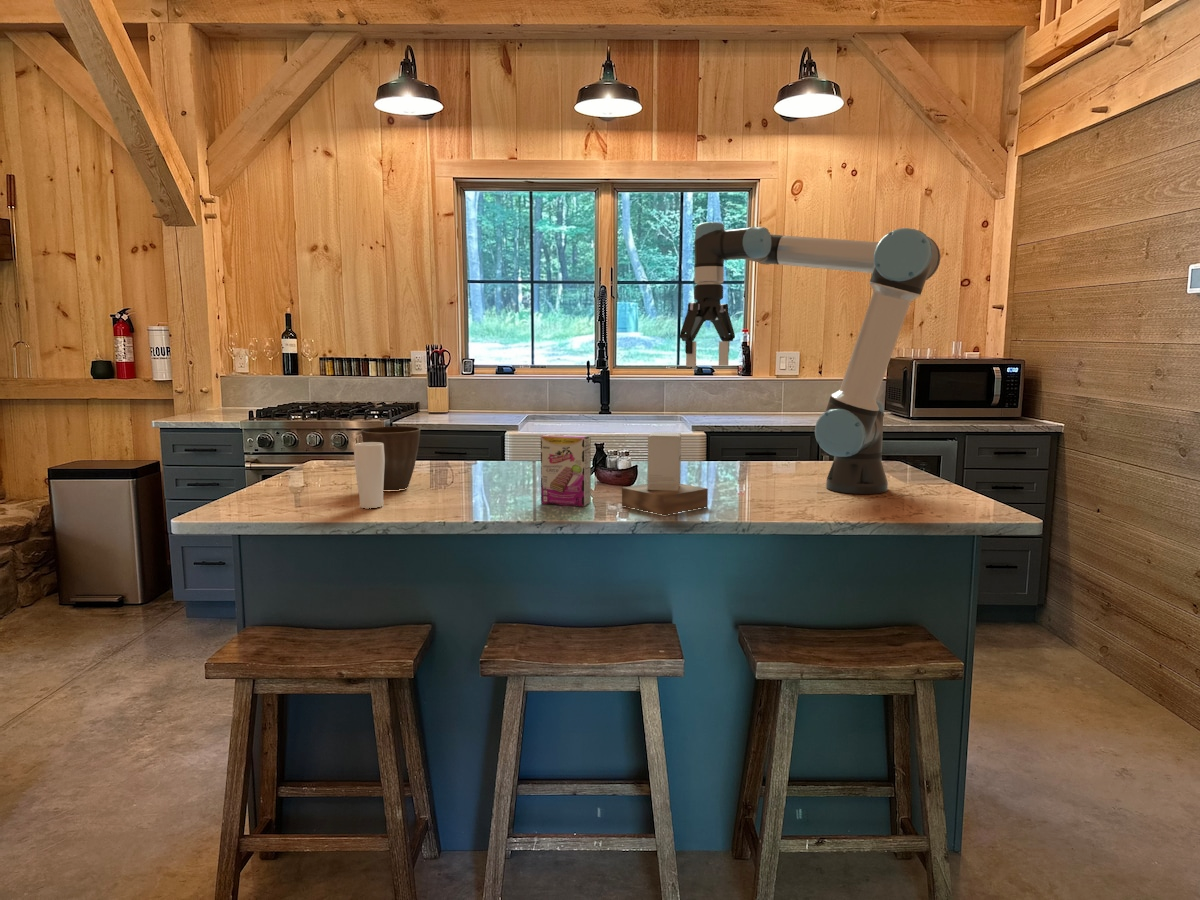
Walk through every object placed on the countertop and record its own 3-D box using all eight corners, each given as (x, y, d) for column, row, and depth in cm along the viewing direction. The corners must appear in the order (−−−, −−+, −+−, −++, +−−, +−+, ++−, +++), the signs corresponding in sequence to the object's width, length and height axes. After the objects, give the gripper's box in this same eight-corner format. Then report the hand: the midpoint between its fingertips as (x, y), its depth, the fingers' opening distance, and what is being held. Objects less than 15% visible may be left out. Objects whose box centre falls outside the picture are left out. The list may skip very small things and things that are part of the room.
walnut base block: (707, 509, 181) (707, 488, 180) (664, 518, 172) (664, 496, 171) (664, 500, 192) (664, 480, 191) (622, 508, 183) (622, 487, 182)
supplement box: (679, 491, 177) (679, 436, 176) (646, 490, 178) (646, 435, 177) (681, 485, 184) (682, 432, 183) (649, 484, 186) (650, 431, 184)
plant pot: (434, 488, 208) (432, 428, 206) (391, 497, 195) (389, 433, 193) (394, 482, 216) (392, 425, 214) (351, 491, 203) (348, 430, 201)
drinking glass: (359, 511, 179) (356, 446, 177) (354, 506, 184) (351, 443, 182) (389, 508, 182) (386, 444, 180) (383, 503, 188) (380, 441, 186)
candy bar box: (540, 504, 186) (539, 435, 183) (548, 500, 190) (547, 433, 188) (584, 507, 182) (584, 437, 180) (591, 503, 187) (591, 435, 184)
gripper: (726, 287, 215) (725, 365, 218) (666, 282, 198) (665, 366, 201) (749, 285, 210) (747, 365, 213) (688, 280, 193) (688, 367, 196)
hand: (707, 366), depth 207 cm, fingers open, 13 cm apart
